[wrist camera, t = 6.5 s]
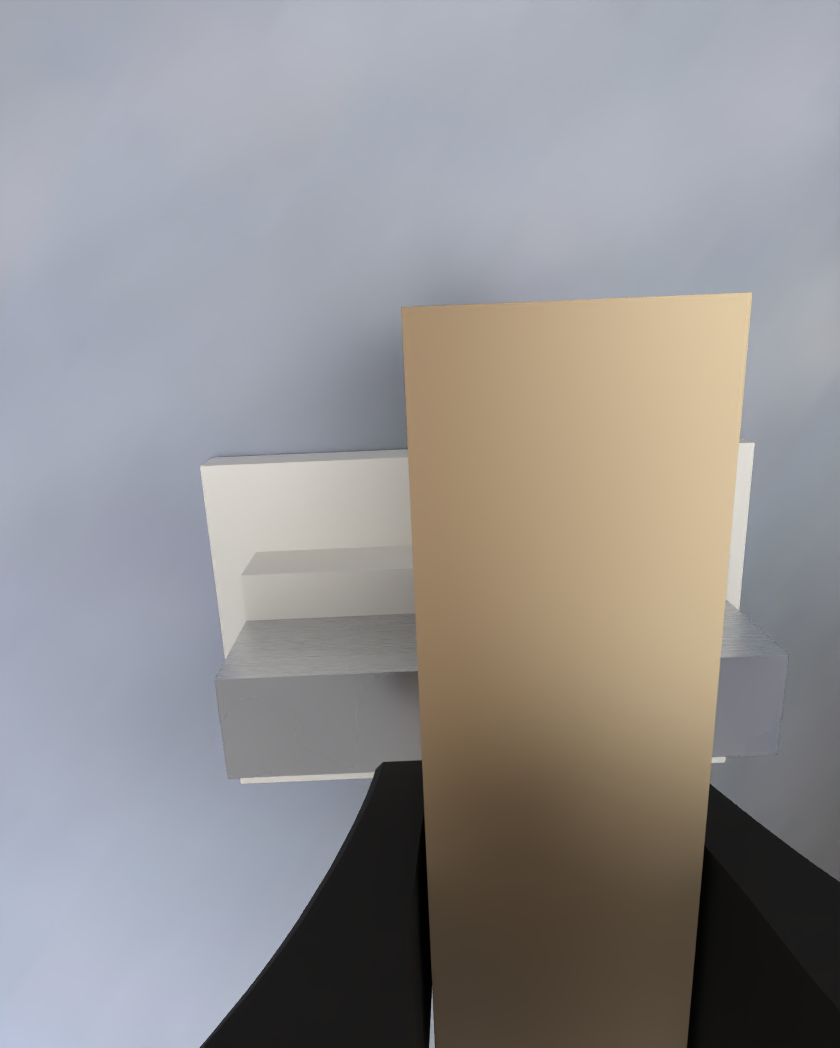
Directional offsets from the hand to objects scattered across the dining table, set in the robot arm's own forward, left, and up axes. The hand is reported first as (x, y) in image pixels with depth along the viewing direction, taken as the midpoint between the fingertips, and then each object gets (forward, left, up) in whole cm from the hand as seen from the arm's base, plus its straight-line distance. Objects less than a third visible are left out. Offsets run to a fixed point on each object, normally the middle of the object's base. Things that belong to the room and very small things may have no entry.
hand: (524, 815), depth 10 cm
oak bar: (0, 0, -2) cm, 2 cm away
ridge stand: (0, 0, -8) cm, 8 cm away
